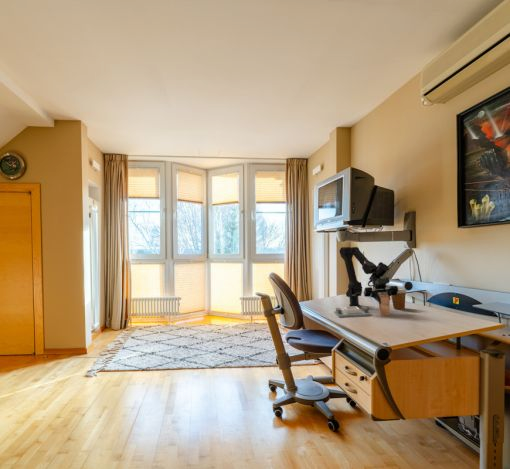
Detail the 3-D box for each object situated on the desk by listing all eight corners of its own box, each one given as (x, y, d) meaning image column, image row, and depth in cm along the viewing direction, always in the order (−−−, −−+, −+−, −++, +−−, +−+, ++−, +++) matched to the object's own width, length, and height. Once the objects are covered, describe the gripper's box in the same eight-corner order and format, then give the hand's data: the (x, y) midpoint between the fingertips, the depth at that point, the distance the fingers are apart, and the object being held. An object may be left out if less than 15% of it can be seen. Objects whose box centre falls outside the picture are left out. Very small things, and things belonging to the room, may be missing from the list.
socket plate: (334, 312, 215) (334, 306, 215) (364, 311, 214) (364, 305, 214) (338, 317, 201) (338, 310, 201) (371, 315, 200) (370, 309, 200)
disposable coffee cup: (408, 310, 210) (406, 289, 210) (391, 310, 213) (389, 289, 213) (407, 307, 219) (405, 287, 219) (390, 307, 222) (389, 287, 222)
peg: (379, 313, 204) (378, 294, 205) (387, 313, 204) (386, 294, 204) (382, 315, 200) (380, 295, 200) (390, 314, 200) (388, 295, 200)
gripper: (363, 273, 207) (370, 295, 196) (396, 271, 206) (404, 293, 195) (361, 285, 215) (367, 307, 203) (392, 283, 214) (400, 305, 203)
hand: (384, 303), depth 201 cm, fingers closed on peg, 4 cm apart
